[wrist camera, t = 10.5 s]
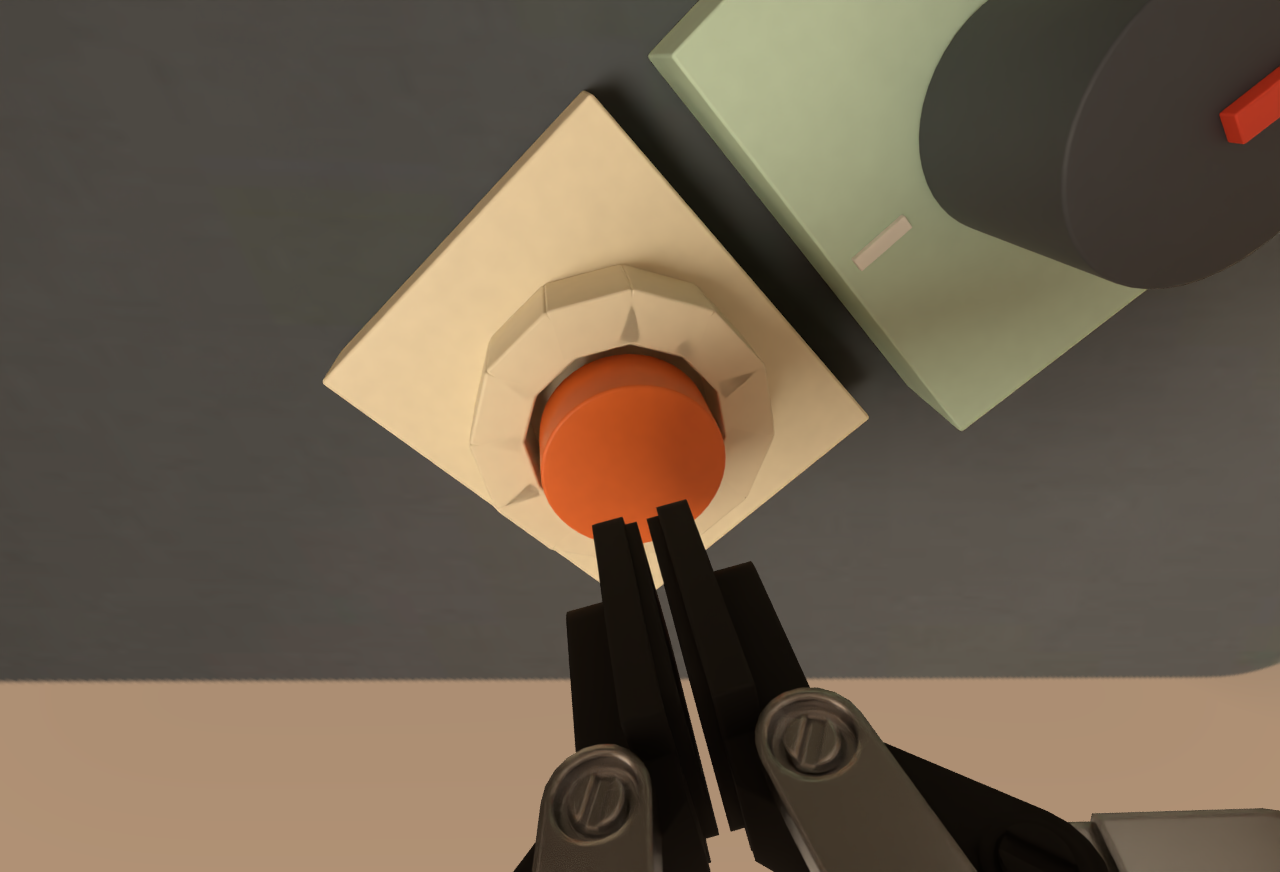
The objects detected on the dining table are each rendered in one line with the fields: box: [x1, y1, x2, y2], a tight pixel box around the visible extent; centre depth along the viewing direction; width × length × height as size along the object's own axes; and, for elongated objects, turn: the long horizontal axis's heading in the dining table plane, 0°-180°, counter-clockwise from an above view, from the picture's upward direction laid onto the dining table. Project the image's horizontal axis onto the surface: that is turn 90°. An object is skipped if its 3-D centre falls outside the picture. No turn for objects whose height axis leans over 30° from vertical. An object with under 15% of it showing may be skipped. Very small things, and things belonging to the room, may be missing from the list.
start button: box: [539, 354, 726, 543], centre depth 15 cm, size 4×4×2 cm
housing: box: [323, 90, 869, 590], centre depth 17 cm, size 11×9×4 cm
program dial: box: [919, 0, 1280, 289], centre depth 12 cm, size 5×5×5 cm
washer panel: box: [648, 0, 1147, 431], centre depth 16 cm, size 12×10×3 cm
